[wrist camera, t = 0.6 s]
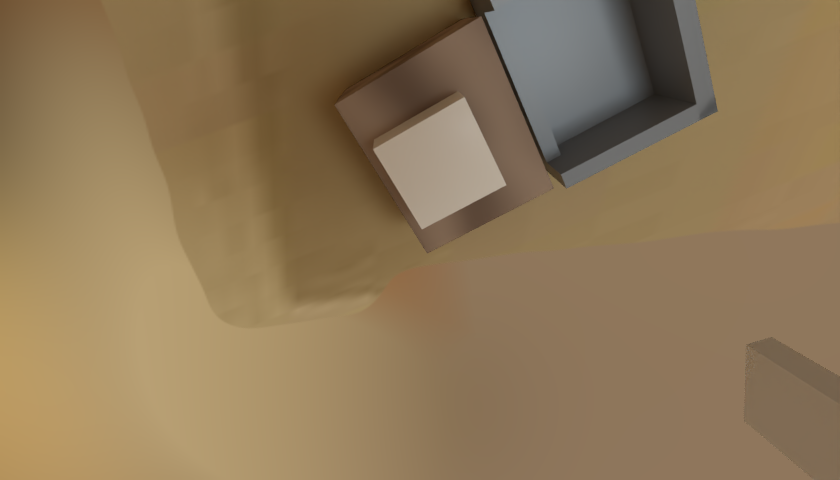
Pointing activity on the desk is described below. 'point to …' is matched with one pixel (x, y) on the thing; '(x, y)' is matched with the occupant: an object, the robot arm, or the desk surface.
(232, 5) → the desk surface
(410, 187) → the cream tile
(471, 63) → the brown block
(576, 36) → the box
